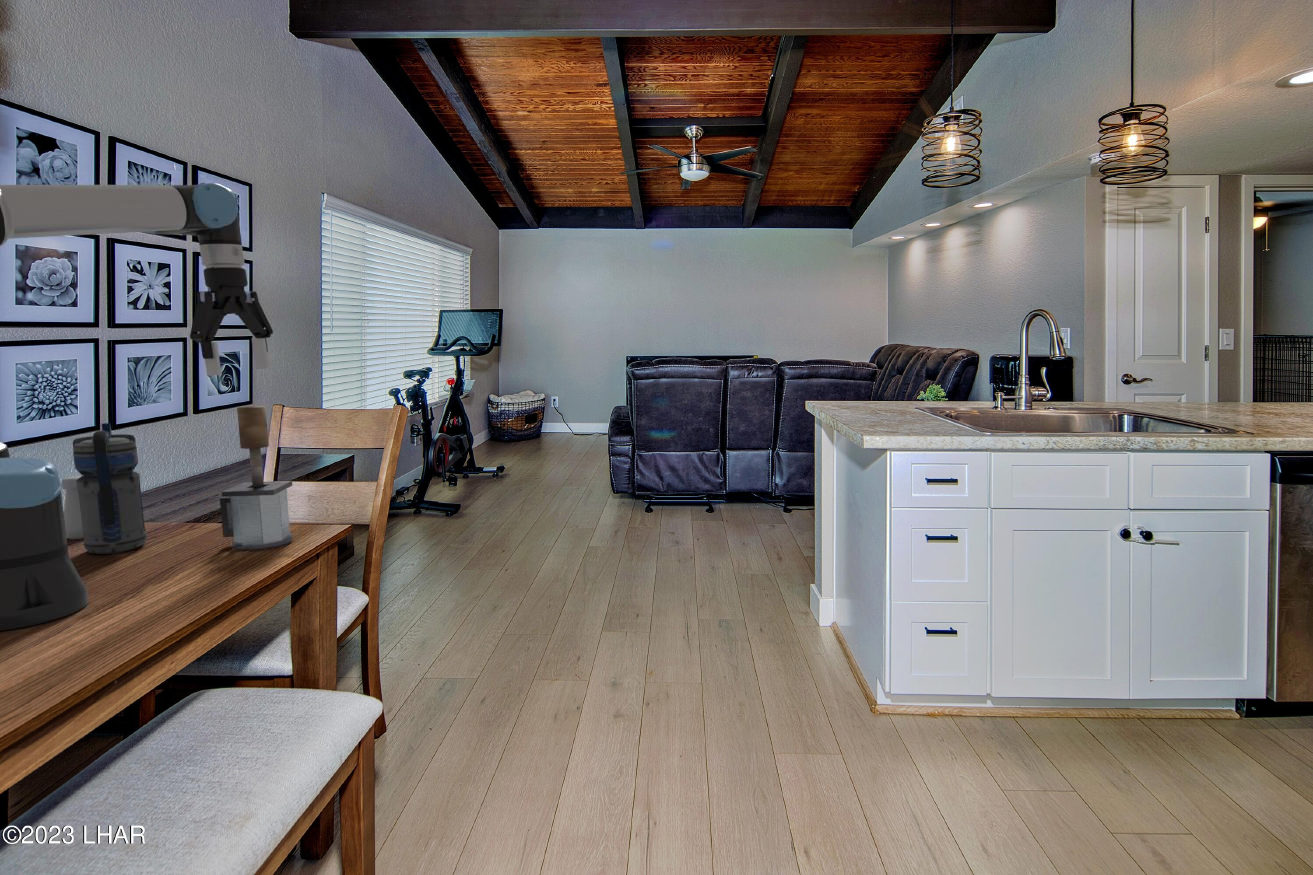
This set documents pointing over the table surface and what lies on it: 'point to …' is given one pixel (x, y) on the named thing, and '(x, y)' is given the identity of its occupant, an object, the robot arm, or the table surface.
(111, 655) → the table surface
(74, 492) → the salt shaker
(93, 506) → the beverage bottle
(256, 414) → the plunger
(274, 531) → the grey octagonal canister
